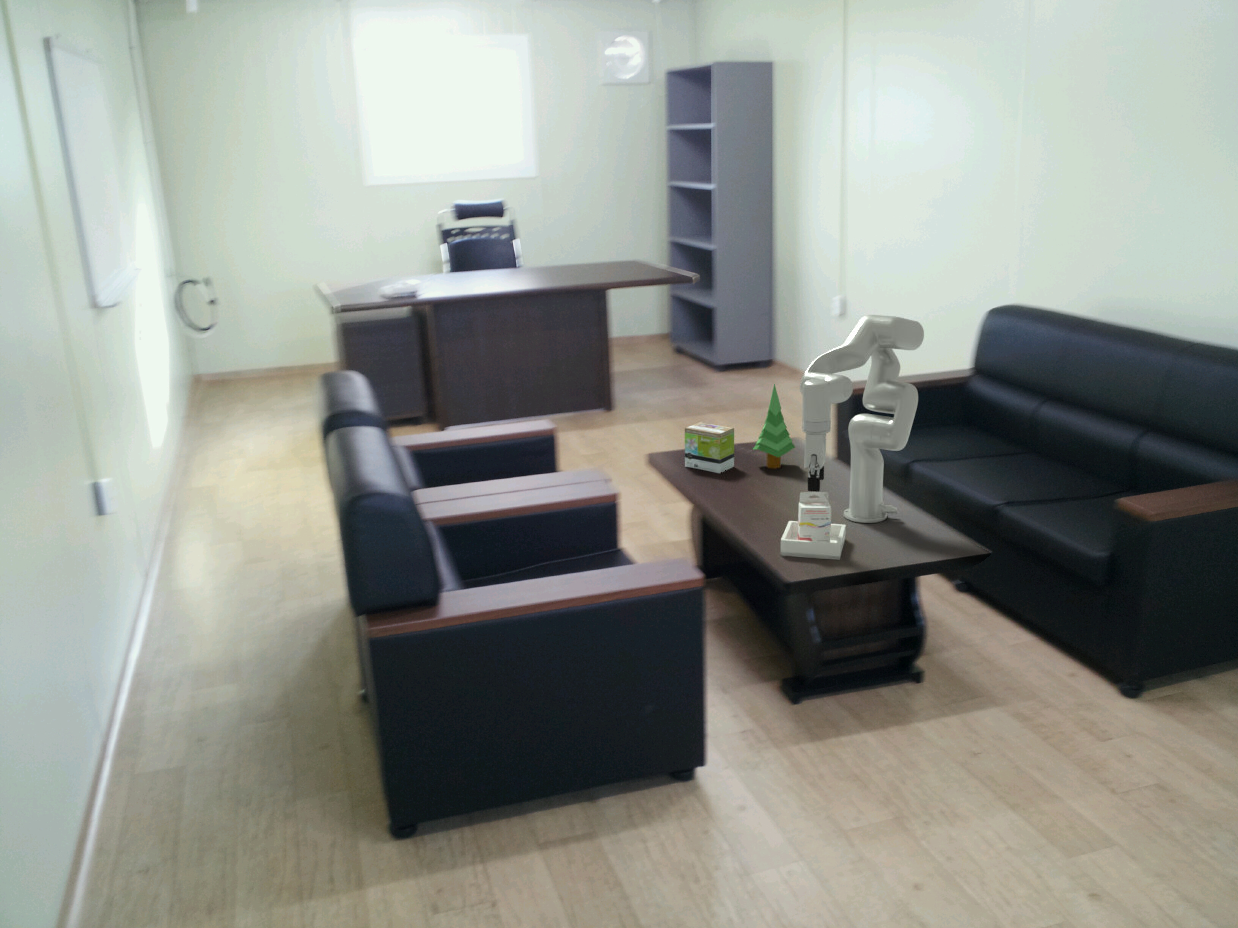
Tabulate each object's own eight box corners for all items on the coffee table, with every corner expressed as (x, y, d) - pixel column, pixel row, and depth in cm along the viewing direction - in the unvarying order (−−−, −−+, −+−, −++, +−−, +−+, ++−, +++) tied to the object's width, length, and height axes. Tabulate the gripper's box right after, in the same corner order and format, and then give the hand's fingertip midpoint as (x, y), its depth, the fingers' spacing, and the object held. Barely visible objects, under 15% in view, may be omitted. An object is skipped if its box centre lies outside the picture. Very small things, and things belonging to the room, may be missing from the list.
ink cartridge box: (799, 547, 287) (800, 497, 283) (797, 541, 292) (798, 491, 288) (830, 547, 287) (832, 496, 283) (828, 540, 292) (829, 491, 287)
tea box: (683, 467, 369) (683, 427, 364) (699, 460, 376) (699, 421, 372) (720, 474, 360) (719, 432, 356) (735, 467, 367) (735, 426, 363)
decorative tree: (787, 459, 374) (788, 377, 366) (797, 471, 359) (799, 387, 351) (750, 461, 373) (750, 379, 365) (759, 473, 358) (759, 389, 350)
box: (845, 539, 295) (845, 524, 294) (839, 559, 280) (840, 544, 279) (788, 535, 300) (789, 520, 298) (780, 555, 285) (780, 539, 284)
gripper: (806, 416, 289) (806, 474, 294) (798, 433, 273) (798, 495, 279) (833, 417, 287) (833, 476, 292) (827, 434, 271) (826, 496, 276)
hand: (815, 485), depth 285 cm, fingers open, 9 cm apart
